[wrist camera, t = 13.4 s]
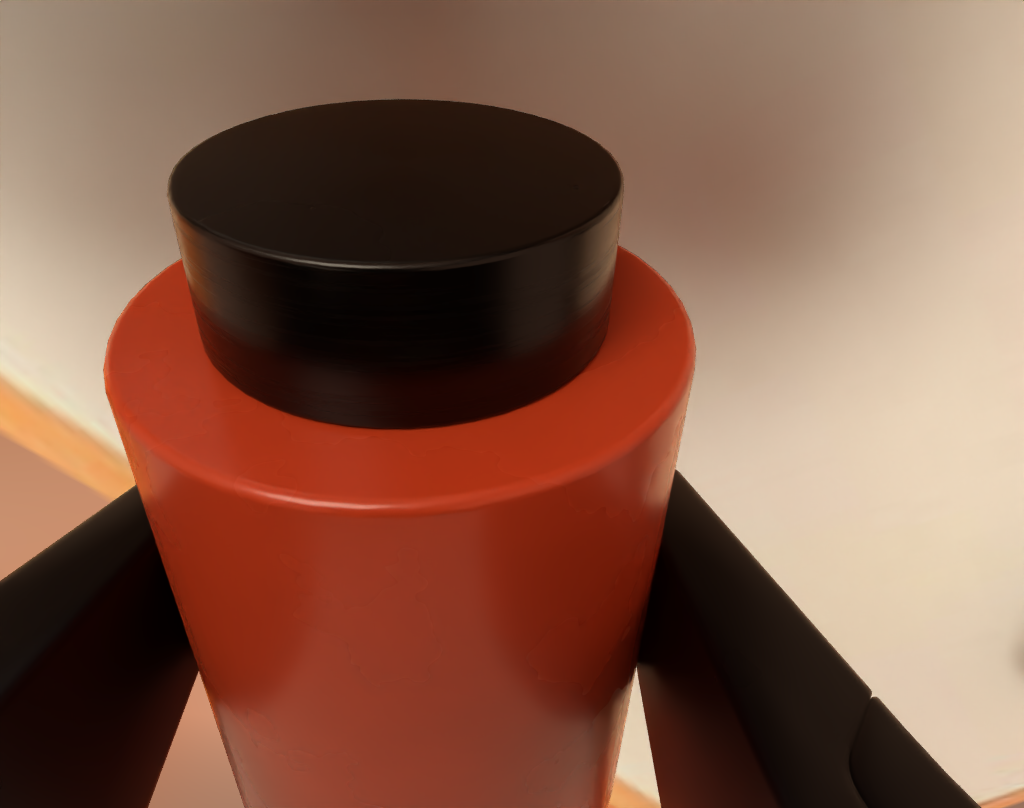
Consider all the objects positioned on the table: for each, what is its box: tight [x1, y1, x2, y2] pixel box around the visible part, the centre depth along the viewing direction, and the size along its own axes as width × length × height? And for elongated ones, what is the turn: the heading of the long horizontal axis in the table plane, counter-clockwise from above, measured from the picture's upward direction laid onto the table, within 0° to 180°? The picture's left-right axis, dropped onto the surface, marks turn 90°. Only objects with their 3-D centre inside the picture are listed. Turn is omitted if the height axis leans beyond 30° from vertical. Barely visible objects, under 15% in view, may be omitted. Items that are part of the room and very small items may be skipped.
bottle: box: [103, 99, 696, 808], centre depth 8 cm, size 8×5×5 cm, turn 179°
